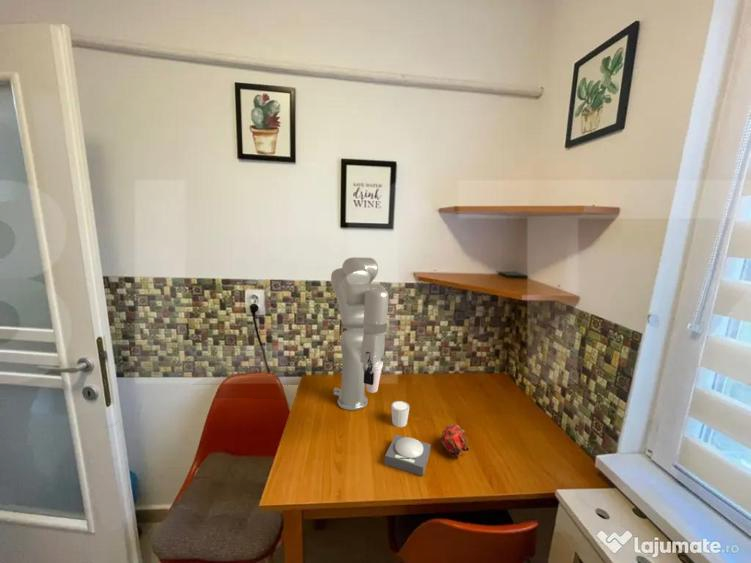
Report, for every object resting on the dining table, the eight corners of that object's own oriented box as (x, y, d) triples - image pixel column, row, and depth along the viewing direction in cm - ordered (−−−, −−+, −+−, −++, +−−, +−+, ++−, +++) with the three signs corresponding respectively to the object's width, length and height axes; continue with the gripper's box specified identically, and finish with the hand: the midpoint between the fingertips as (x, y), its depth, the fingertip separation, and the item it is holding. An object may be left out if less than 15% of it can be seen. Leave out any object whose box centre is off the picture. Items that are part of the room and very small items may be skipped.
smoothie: (384, 387, 105) (386, 348, 103) (378, 396, 99) (380, 355, 97) (366, 383, 107) (368, 344, 105) (359, 392, 101) (361, 351, 99)
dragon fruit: (451, 440, 111) (457, 470, 100) (433, 428, 110) (437, 456, 99) (468, 426, 109) (476, 455, 97) (449, 413, 108) (455, 440, 96)
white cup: (389, 417, 121) (390, 400, 120) (406, 417, 122) (407, 400, 120) (391, 428, 114) (392, 410, 113) (410, 428, 115) (411, 410, 114)
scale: (384, 464, 96) (385, 453, 96) (395, 442, 107) (395, 432, 106) (422, 476, 92) (423, 465, 92) (430, 452, 102) (430, 442, 102)
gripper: (374, 318, 109) (371, 366, 112) (352, 333, 93) (350, 388, 96) (394, 321, 106) (391, 370, 109) (376, 337, 90) (373, 394, 93)
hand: (372, 378), depth 103 cm, fingers closed on smoothie, 6 cm apart
